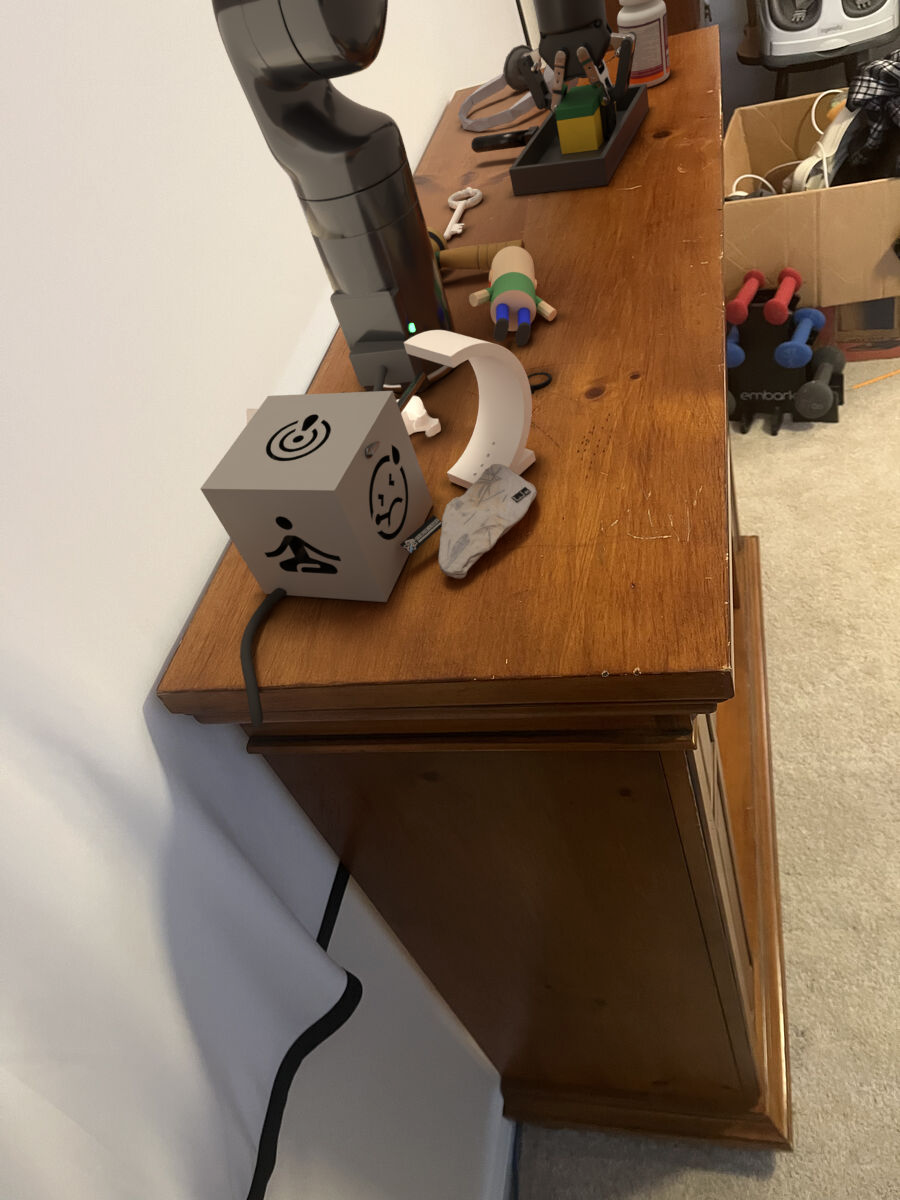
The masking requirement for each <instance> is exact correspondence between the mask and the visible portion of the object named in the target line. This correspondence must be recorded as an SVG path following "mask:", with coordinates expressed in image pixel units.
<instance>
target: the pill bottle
mask: <svg viewBox="0 0 900 1200" xmlns="http://www.w3.org/2000/svg"><path fill="white" fill-rule="evenodd" d="M618 2H619V5H620V6H622V8H621V9H620V11H619V12H618V14H617V17H616V22H617V23H616V24H617V33H619V34H628V33H629V32H631V31H632V32H634V33H635V34H636V36H637V38H636V45H635V51H634V58H633V64H632V71H631V77H630V83H629V86H635V85H641V84H647V89H648V88H651V87H653V86H657V85H658V84H661V83H663V82H665V81H666V80H667V79H668V78H669V76H670V74H671V65H670V63H671V62H670V49H669V31H668V18H667V17H668V16H667V15H668V14H667V5H666V3H665V1H664V0H618Z"/></svg>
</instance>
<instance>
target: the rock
mask: <svg viewBox="0 0 900 1200" xmlns="http://www.w3.org/2000/svg"><path fill="white" fill-rule="evenodd" d="M537 494H538V491H537V489H536V486H535V485H534V484H533V483H531V482H529V481H527V480H526V479H525V478H524V477H522V476H521V475H517V474H516V473H515V472H514V471H513V470H511V469H510V468H508V467H506V466H504V465H502V464H493V465H491V466H490V467H489V468H487V469H485V471H484V472H483V474H482V475H481V477H480V478H479V479H478V480H477V481H476V482H475V483H474V484H473V485H472V486H471V487H470V488H469V489H467V490H466V491H465V492H464V494H462V495H460V496H456V497H454V498H452V499H451V500H450V501H449V502H448V503H447V504H446V505H445V508H444V512H443V514H442V516H441V519H439V518H438V517H437V516H436V515H434V514H433V515H432V516H431V517H429V518H428V519H426V520H425V521H424V524H423V525H422V526H421V527H419V528H418V529H417V530H416V531H415V532H414V533H413V534H411V535H410V536H409V537H408V538H407V539H406V540H405V541H403V542H402V543H401V544H400V545H401V546H402V547H403V548H404V549H405V550H406V551H408V552H409V555H412V554H413V553H415V551H417V550H418V549H419V548H420V547H421V546H422V545H423V544H424V543H425V542H427V541H428V540H429V539H430V538H431V537H433V535H435V534H436V533H437V532H438V531H439V530H440V529H441V532H440V537H439V548H438V567H439V569H440V571H441V573H443V574H444V575H445V576H448V577H450V578H454V579H457V580H458V579H459V580H460V579H464V578H465V577H466V576H467V574H468V571H469V570H470V569H471V568H472V566H473V565H475V563H477V561H479V559H480V558H481V557H482V556H483V555H484V554H485V553H487V552H489V551H490V550H491V549H492V548H494V546H495V545H496V544H497V542H498V540H499V539H500V538H502V537H503V536H505V534H507V533H508V532H509V531H510V530H511V529H512V528H513V527H514V526H515V525H516V524H518V523H519V522H520V521H521V520H522V519H523V518H524V516H525V515H526V514H527V512H528V510H529V508H530V506H531V504H532V503H533V501H535V498H536V496H537Z"/></svg>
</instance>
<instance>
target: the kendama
mask: <svg viewBox="0 0 900 1200" xmlns="http://www.w3.org/2000/svg"><path fill="white" fill-rule="evenodd" d="M427 229H428V233H429V236H430V240H431V243H432V247H433V250H434V254H435V258H436V261H437V265H438V268H439V272H440V271H441V270H442V269H443V268H444V269H452V270H467V271H480V270H481V271H490V270H491V267H492V262H493V259H494V257H495V256H496V254H497V253H498V252H499V251H500V250H502V249H503V248H506V247H509V246H518V247H521V248H523V249H525V250H526V246H525V241H524V240H523V239H515V240H508V241H500V242H494V243H493V242H491V243H483V244H474V245H465V246H459V247H453V248H449V246H448V245H449V244H448V242H447V239H445V238H444V234H442V233H441V232H440V231H439V230H438V229H436V228H435V227H432V226H427Z"/></svg>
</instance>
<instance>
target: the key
mask: <svg viewBox="0 0 900 1200" xmlns="http://www.w3.org/2000/svg"><path fill="white" fill-rule="evenodd" d="M468 197H470V198H468ZM463 198H468V199H463ZM461 199H463V200H461ZM482 199H483V193H482V191H481V190H480V189H478V188H472V187H470V186H468V187H466V188H465V189H462V190H458V191H456V192H454V193H453V194H451V195H449V197H448V199H447V204H448V206H449V208H451V209H453V210H454V213H453V215H452V217H451V219H450V221H449V223H448V225H447V227H446V229H445V231H444V233H443V237H444V238H445V240H446V241H449V240H450V239H451V237H452V235H455V234H458V235H459V234H462V232H463V227H464V226H465V225H466V224H465V222H464V223H459V221H460V219H461V217H462V215H463V213H464V211H465V210H466V209H468V208H470V207H473V206H476V205H478V204H479V203H480V202H481V201H482Z"/></svg>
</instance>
